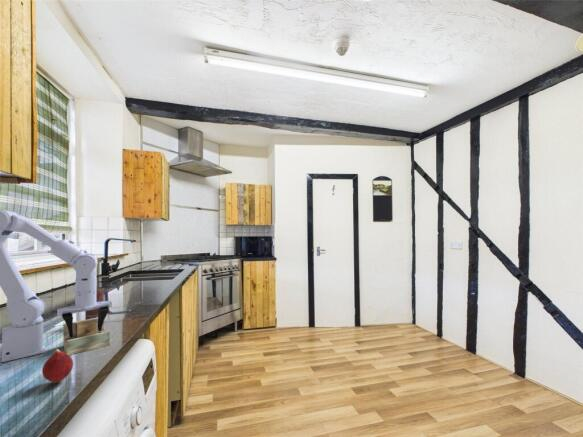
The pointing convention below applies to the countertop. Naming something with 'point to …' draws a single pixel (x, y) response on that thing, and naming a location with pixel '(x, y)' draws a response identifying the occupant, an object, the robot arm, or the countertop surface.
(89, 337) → the wooden cubby shelf
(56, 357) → the onion
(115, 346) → the countertop surface
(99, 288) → the can
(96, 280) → the robot arm
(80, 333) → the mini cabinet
